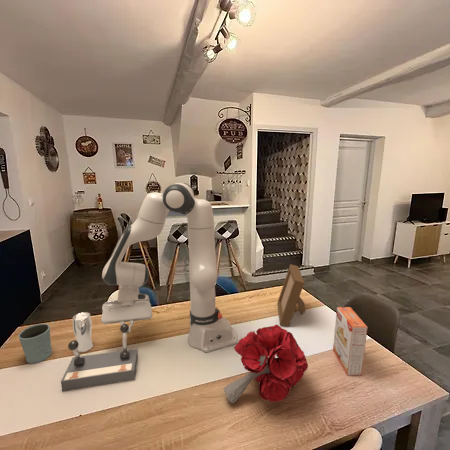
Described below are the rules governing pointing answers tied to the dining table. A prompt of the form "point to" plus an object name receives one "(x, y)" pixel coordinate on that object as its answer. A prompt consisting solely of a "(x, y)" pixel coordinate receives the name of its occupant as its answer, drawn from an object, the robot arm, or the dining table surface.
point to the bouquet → (269, 363)
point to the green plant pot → (36, 343)
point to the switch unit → (100, 370)
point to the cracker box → (349, 340)
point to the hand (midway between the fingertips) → (126, 332)
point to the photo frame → (290, 296)
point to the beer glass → (83, 331)
